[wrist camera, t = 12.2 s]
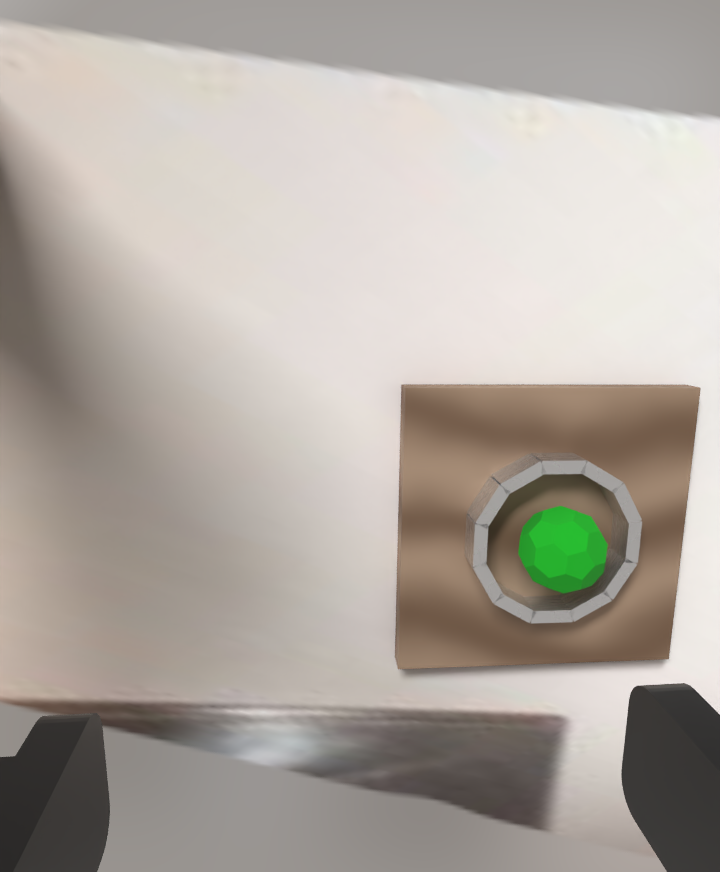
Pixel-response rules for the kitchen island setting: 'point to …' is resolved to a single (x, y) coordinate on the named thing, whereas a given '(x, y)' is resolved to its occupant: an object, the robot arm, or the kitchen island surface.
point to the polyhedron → (562, 549)
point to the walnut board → (495, 449)
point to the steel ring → (617, 558)
